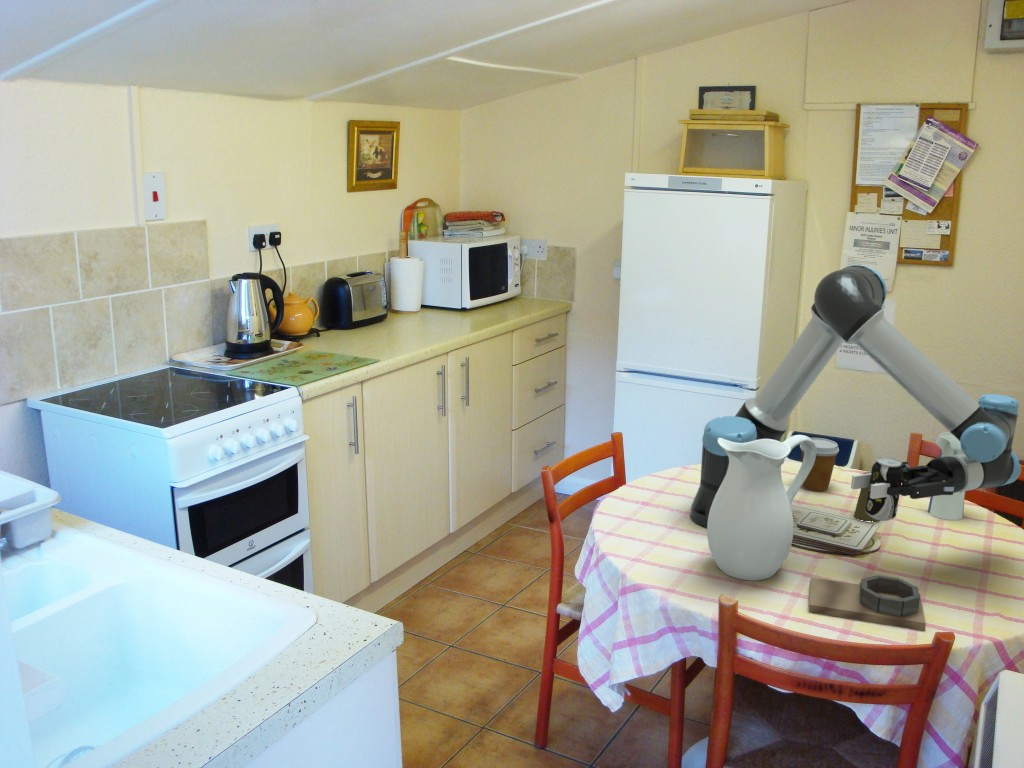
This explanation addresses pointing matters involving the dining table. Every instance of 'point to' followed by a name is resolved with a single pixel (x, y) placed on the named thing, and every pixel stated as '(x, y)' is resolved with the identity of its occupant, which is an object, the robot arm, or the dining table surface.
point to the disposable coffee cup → (821, 464)
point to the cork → (863, 506)
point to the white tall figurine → (953, 504)
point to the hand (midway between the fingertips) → (862, 487)
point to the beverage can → (892, 474)
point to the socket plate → (851, 606)
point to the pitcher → (755, 507)
